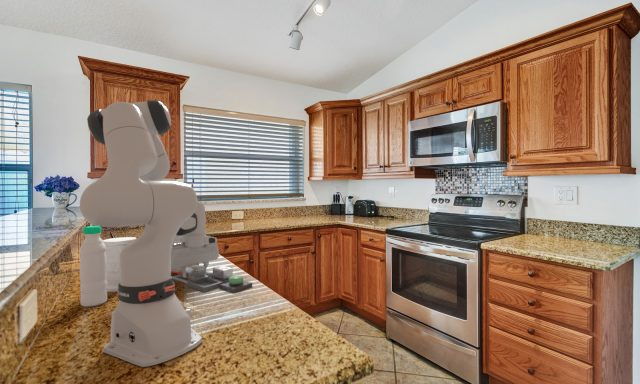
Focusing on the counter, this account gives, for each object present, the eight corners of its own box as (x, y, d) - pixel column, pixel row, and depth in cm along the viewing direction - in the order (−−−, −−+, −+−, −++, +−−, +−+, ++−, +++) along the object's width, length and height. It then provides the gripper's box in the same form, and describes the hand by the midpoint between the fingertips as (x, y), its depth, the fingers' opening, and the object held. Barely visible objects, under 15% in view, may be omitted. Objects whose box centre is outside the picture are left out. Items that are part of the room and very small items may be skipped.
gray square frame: (217, 279, 126) (217, 274, 126) (188, 287, 116) (188, 282, 116) (200, 274, 133) (200, 269, 133) (172, 281, 124) (172, 276, 124)
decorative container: (119, 281, 124) (118, 236, 124) (145, 282, 123) (144, 237, 122) (93, 291, 113) (92, 241, 113) (122, 292, 111) (121, 242, 111)
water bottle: (93, 308, 97) (91, 228, 96) (74, 306, 98) (72, 227, 98) (112, 300, 104) (111, 225, 103) (94, 298, 105) (93, 224, 105)
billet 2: (232, 281, 119) (232, 268, 119) (223, 283, 116) (223, 270, 116) (221, 278, 123) (221, 265, 123) (212, 280, 120) (212, 267, 120)
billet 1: (204, 279, 124) (204, 267, 124) (195, 282, 121) (195, 269, 121) (195, 276, 128) (194, 264, 128) (185, 279, 125) (185, 266, 125)
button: (246, 288, 112) (246, 276, 112) (234, 292, 108) (234, 280, 108) (237, 285, 115) (237, 274, 115) (226, 289, 111) (225, 277, 111)
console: (252, 289, 113) (252, 282, 113) (233, 296, 106) (233, 288, 106) (238, 285, 118) (238, 279, 118) (220, 291, 111) (219, 284, 111)
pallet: (239, 284, 119) (239, 277, 119) (204, 295, 107) (204, 287, 107) (222, 279, 126) (222, 272, 126) (187, 289, 114) (187, 281, 114)
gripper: (172, 245, 114) (173, 283, 114) (220, 238, 130) (221, 270, 131) (164, 243, 118) (164, 280, 118) (211, 236, 134) (212, 268, 135)
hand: (194, 275), depth 125 cm, fingers open, 6 cm apart
